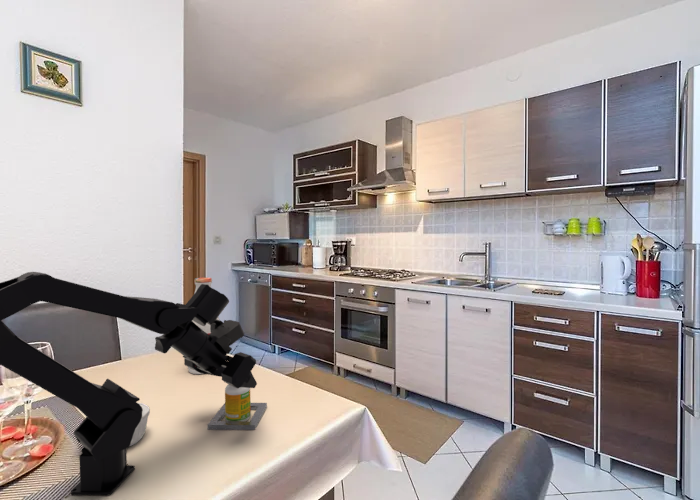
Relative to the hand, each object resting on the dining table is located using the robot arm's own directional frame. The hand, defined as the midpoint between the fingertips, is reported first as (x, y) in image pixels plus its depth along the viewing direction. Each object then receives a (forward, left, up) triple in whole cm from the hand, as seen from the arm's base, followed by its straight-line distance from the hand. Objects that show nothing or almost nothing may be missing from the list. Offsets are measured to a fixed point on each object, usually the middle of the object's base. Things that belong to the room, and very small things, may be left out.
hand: (242, 380), depth 79 cm
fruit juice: (+28, +21, -8) cm, 36 cm away
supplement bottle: (-1, +1, -8) cm, 8 cm away
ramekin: (-10, +22, -8) cm, 25 cm away
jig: (-1, +1, -8) cm, 8 cm away
